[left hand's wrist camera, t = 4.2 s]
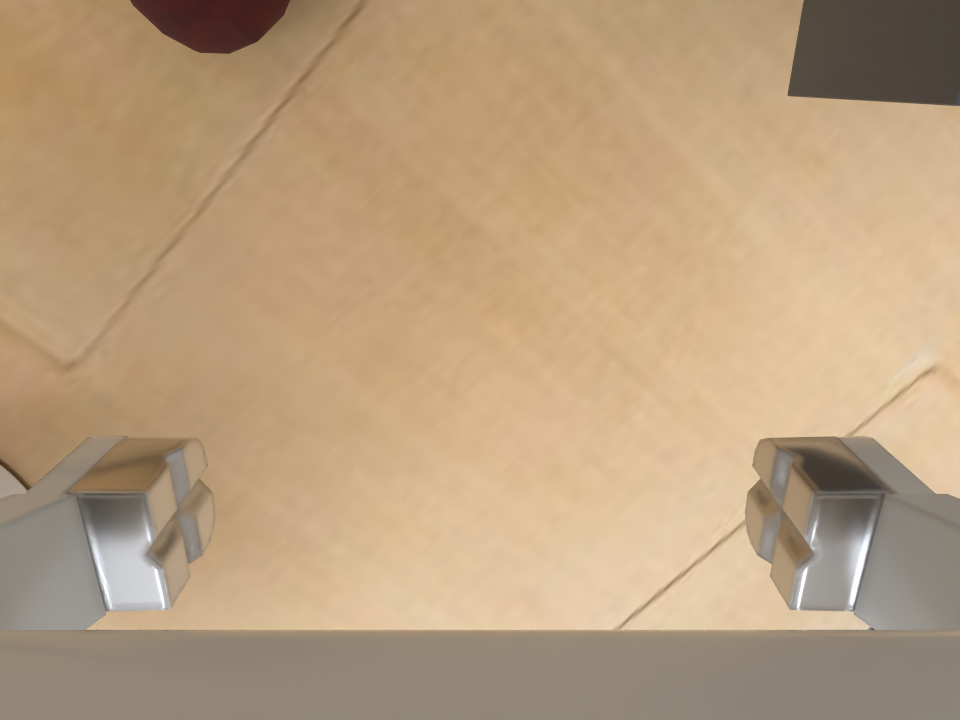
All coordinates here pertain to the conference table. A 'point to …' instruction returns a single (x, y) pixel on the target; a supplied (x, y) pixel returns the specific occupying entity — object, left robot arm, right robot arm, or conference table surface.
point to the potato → (213, 21)
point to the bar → (879, 51)
